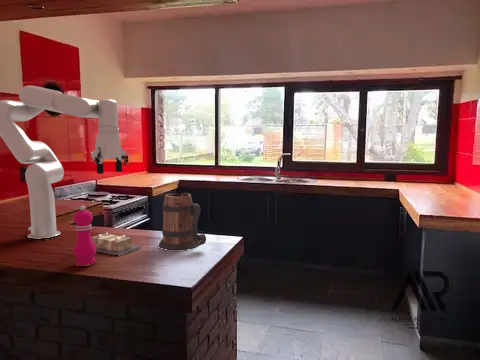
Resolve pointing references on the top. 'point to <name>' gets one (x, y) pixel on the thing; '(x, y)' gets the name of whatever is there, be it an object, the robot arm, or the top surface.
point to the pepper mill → (84, 238)
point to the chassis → (116, 251)
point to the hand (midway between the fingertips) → (109, 172)
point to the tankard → (180, 223)
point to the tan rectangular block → (112, 242)
